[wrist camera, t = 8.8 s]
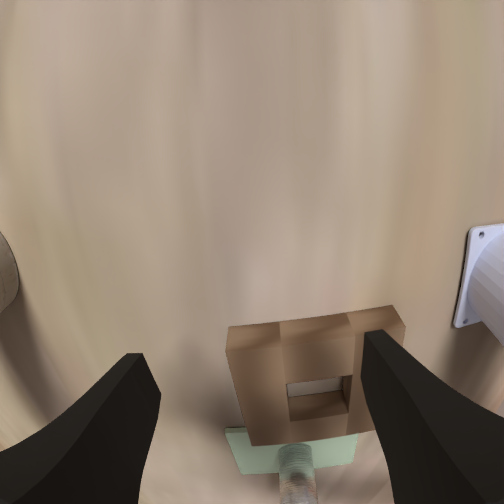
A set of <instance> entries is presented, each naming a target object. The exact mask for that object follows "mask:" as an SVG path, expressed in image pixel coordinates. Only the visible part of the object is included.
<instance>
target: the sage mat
mask: <svg viewBox="0 0 504 504" xmlns="http://www.w3.org/2000/svg"><path fill="white" fill-rule="evenodd" d="M358 434H359V433H357V434H352V435H347V436H341V437H335V438H329V439H323V440H316V441H308V442H300V443H305V444H308V445H310V446H311V448H312V456H313V464H314V469H318V468H324V467H331V466H337V465H343V464H348V463H352V462H353V458H354V453H355V448H356V444H357V439H358ZM225 435H226V438H227V440H228V443H229V445H230V448H231V450H232V453H233V455H234V457H235V460H236V462H237V465H238V467H239V469H240V472H241V474H242V475H247V474H268V473H279V460H278V450H279V449H280V448H281V447H282V446H284V445H287V444H281V445H268V446H252V445H251V442H250V439H249V435H248V432H247V429H246V427H240V428H225Z"/></svg>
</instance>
